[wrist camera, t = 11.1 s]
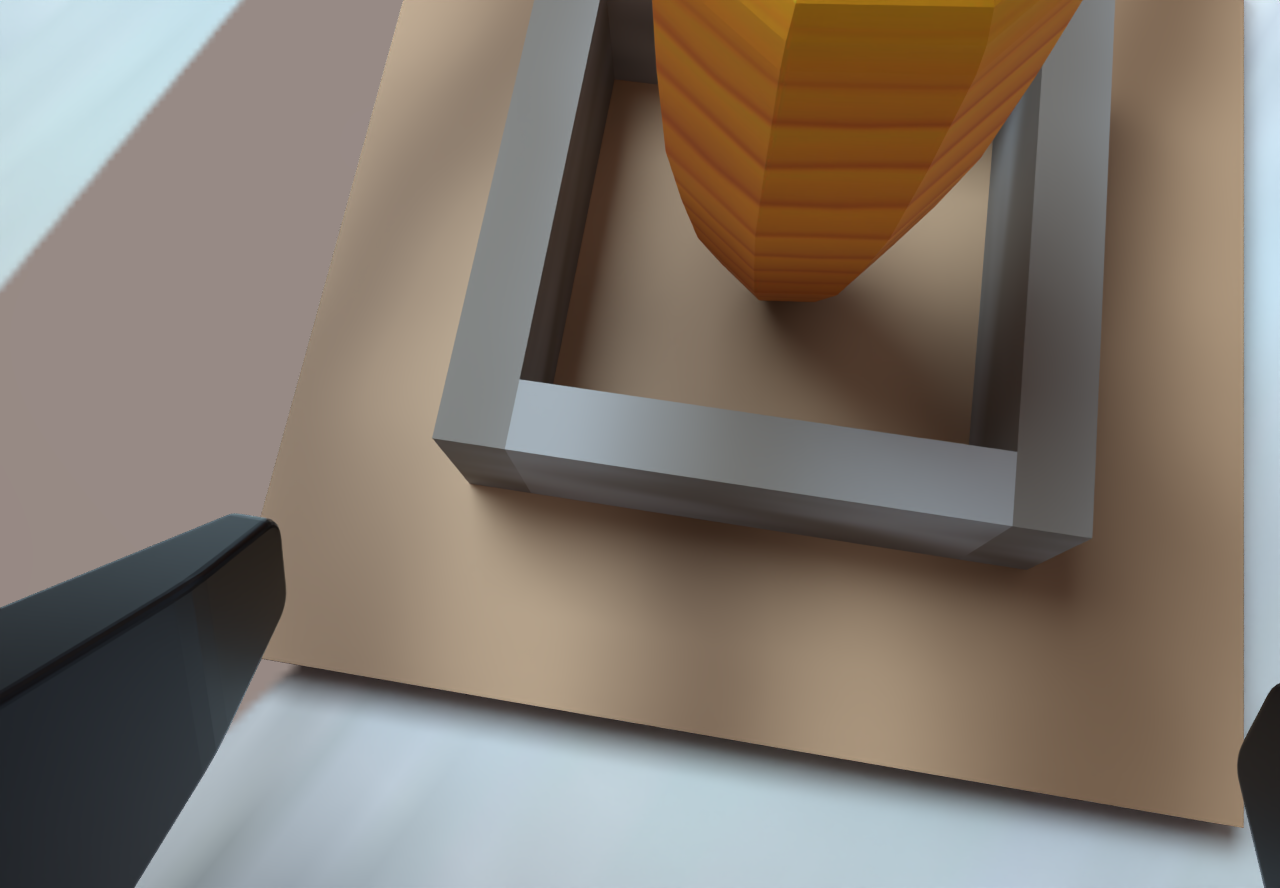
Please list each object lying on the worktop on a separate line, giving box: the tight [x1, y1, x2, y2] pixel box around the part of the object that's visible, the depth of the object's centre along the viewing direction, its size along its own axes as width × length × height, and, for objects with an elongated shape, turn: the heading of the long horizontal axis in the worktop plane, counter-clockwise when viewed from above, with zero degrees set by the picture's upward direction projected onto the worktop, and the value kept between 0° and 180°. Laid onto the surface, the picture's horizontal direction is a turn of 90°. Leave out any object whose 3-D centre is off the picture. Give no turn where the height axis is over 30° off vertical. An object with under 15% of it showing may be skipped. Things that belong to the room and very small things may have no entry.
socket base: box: [261, 0, 1244, 828], centre depth 19 cm, size 18×18×4 cm
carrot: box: [652, 0, 1083, 302], centre depth 13 cm, size 5×5×15 cm
